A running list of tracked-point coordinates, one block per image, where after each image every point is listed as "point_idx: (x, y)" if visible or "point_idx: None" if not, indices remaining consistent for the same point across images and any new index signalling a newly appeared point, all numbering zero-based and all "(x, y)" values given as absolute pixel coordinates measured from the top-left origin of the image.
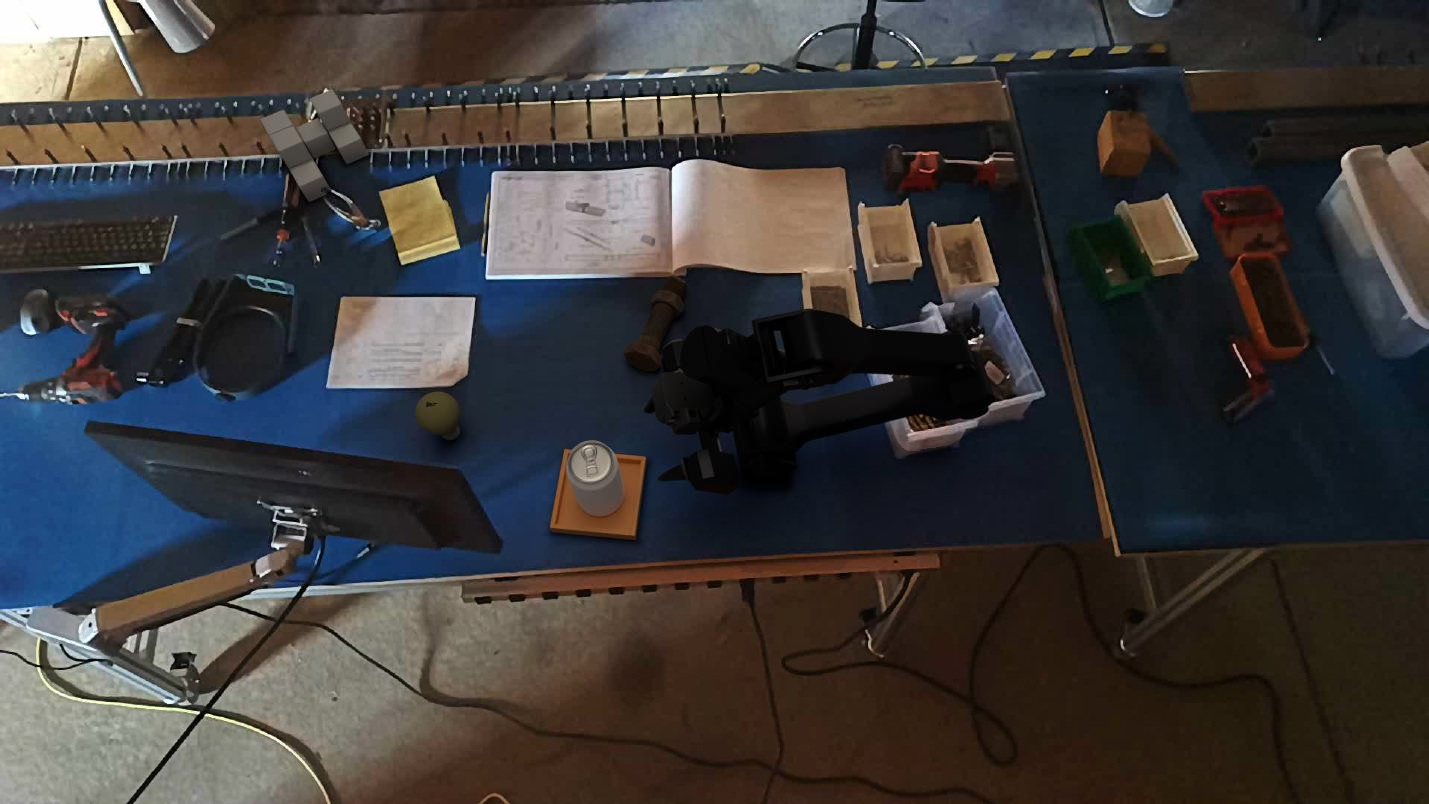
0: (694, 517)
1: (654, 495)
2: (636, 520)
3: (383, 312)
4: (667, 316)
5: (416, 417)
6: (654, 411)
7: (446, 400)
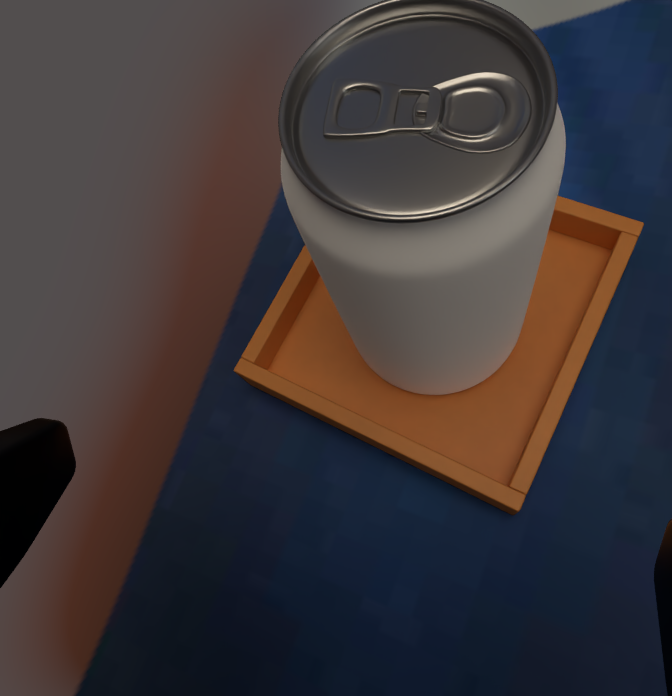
0: (239, 607)
1: (372, 496)
2: (280, 392)
3: None
4: None
5: None
6: (662, 622)
7: None
